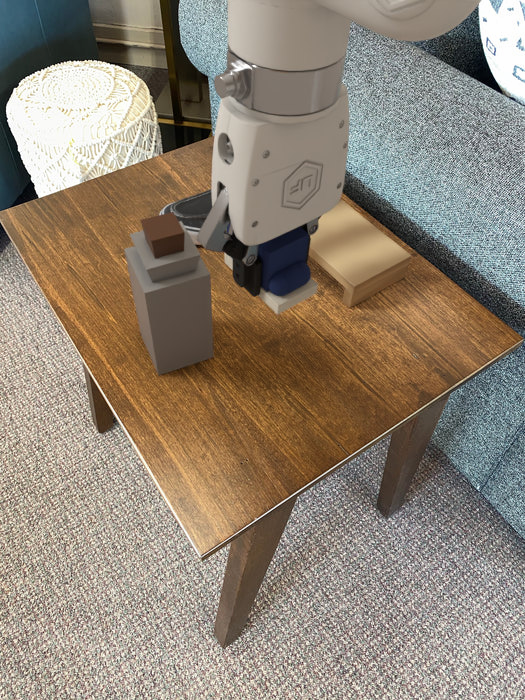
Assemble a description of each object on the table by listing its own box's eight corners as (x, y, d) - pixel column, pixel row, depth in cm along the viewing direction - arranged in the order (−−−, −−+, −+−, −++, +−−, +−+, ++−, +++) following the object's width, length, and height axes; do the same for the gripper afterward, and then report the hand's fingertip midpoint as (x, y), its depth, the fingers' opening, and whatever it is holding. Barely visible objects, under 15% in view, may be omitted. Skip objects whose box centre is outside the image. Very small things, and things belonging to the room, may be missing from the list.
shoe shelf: (404, 277, 76) (412, 255, 73) (349, 308, 72) (354, 286, 69) (336, 221, 83) (340, 199, 80) (282, 246, 79) (285, 224, 76)
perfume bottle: (140, 333, 68) (117, 213, 54) (193, 317, 70) (183, 197, 56) (158, 375, 65) (138, 258, 51) (213, 357, 67) (209, 239, 52)
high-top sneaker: (224, 262, 53) (223, 213, 48) (262, 244, 54) (265, 195, 50) (277, 315, 49) (281, 267, 44) (316, 293, 51) (325, 245, 46)
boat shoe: (162, 251, 77) (156, 202, 71) (157, 211, 83) (151, 161, 76) (333, 235, 81) (342, 186, 75) (318, 197, 86) (325, 149, 80)
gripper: (209, 139, 32) (216, 342, 46) (415, 63, 39) (366, 261, 53) (142, 83, 35) (168, 288, 50) (341, 23, 42) (314, 219, 57)
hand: (270, 273), depth 51 cm, fingers closed on high-top sneaker, 4 cm apart
